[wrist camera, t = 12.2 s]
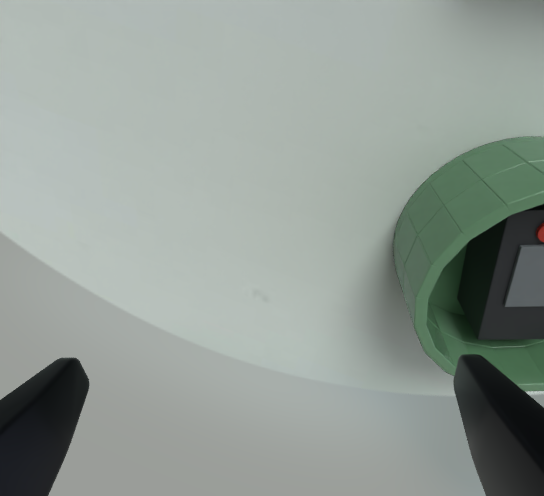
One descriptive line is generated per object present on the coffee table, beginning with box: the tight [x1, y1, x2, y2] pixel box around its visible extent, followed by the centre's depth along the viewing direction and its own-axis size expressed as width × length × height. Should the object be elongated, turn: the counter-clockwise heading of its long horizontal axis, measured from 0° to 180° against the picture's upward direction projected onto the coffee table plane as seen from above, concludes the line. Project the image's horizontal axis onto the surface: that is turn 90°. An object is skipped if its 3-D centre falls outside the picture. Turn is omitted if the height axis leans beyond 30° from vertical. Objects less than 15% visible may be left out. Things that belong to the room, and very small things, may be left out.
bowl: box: [393, 137, 544, 391], centre depth 16 cm, size 10×10×5 cm
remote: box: [457, 204, 544, 340], centre depth 17 cm, size 7×3×3 cm, turn 6°
